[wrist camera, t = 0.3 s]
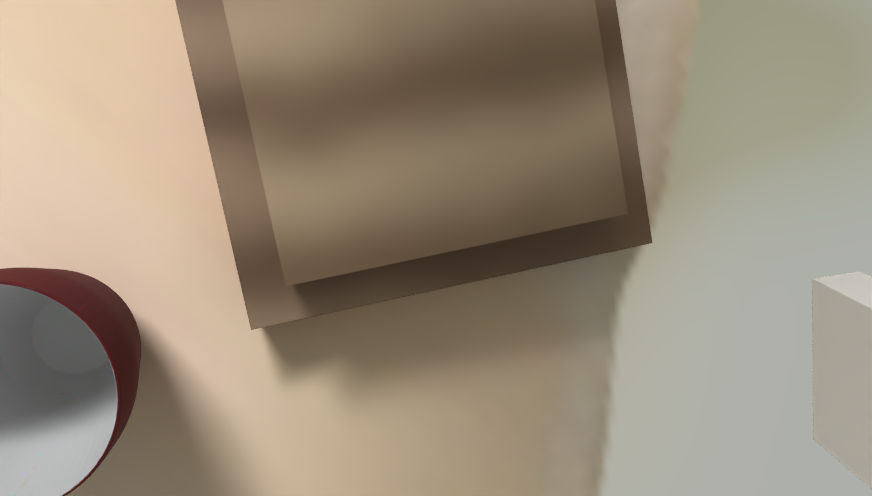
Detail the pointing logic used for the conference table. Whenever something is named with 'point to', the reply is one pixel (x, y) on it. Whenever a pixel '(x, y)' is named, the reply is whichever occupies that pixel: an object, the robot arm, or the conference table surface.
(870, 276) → the robot arm
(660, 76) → the conference table surface
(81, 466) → the mug
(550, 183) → the stand
